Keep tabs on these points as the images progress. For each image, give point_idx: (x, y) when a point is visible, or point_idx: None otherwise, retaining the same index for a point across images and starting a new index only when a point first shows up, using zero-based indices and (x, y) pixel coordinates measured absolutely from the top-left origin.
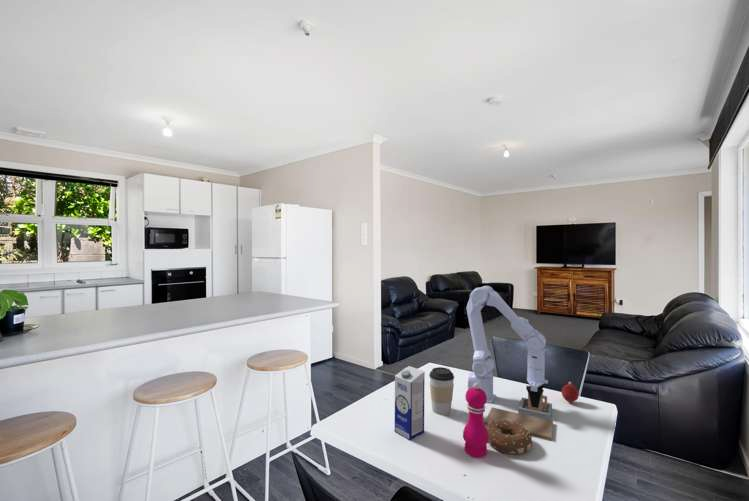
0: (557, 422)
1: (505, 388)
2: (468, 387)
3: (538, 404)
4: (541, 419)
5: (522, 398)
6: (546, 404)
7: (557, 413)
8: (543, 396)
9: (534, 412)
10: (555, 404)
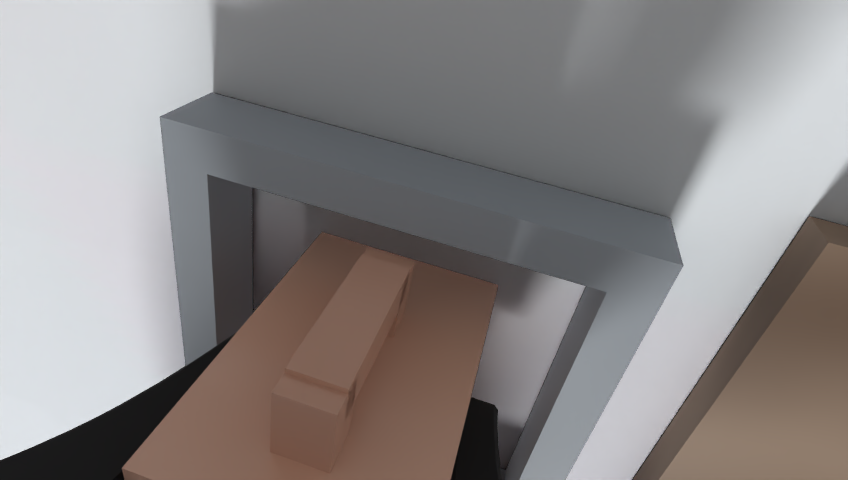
0: (741, 127)
1: (9, 430)
2: None
3: (498, 455)
4: (781, 392)
5: None
6: (394, 305)
7: (363, 43)
8: (330, 461)
9: (583, 430)
10: (38, 2)
